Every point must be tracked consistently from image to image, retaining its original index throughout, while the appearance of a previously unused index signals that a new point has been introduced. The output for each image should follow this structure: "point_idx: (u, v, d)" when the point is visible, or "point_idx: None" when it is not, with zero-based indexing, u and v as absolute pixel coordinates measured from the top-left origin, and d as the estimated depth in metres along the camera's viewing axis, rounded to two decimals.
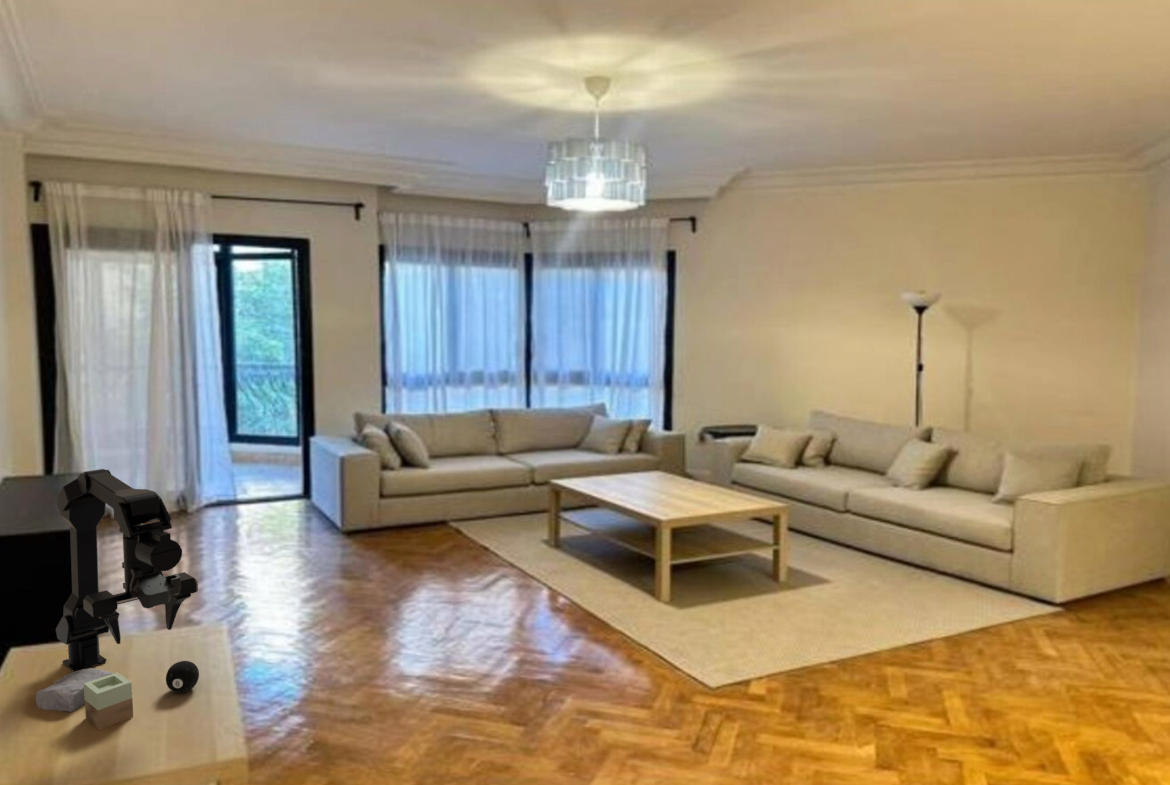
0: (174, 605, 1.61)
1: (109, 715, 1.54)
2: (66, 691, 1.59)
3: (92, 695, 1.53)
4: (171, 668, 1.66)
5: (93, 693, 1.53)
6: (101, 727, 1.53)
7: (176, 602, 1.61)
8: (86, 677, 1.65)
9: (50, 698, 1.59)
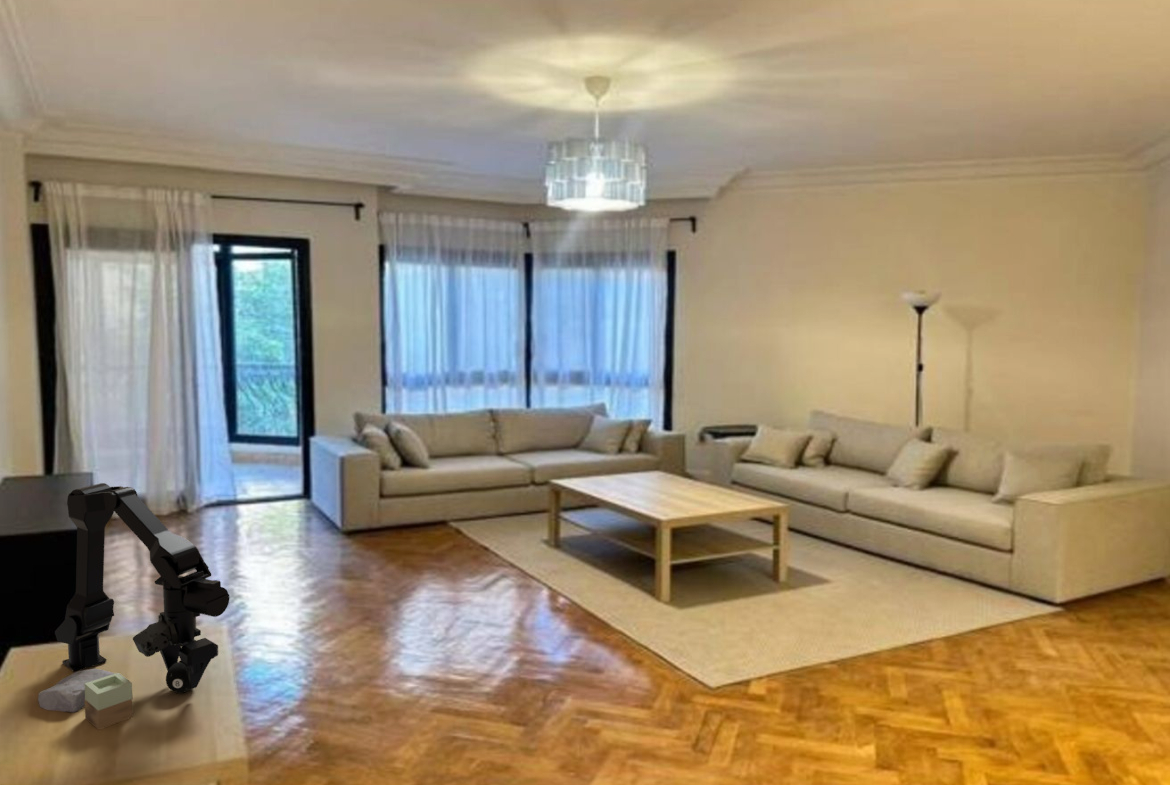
0: None
1: (109, 715, 1.54)
2: (69, 691, 1.59)
3: (93, 696, 1.53)
4: (171, 668, 1.66)
5: (94, 693, 1.52)
6: (101, 727, 1.53)
7: None
8: (89, 677, 1.65)
9: (53, 698, 1.59)
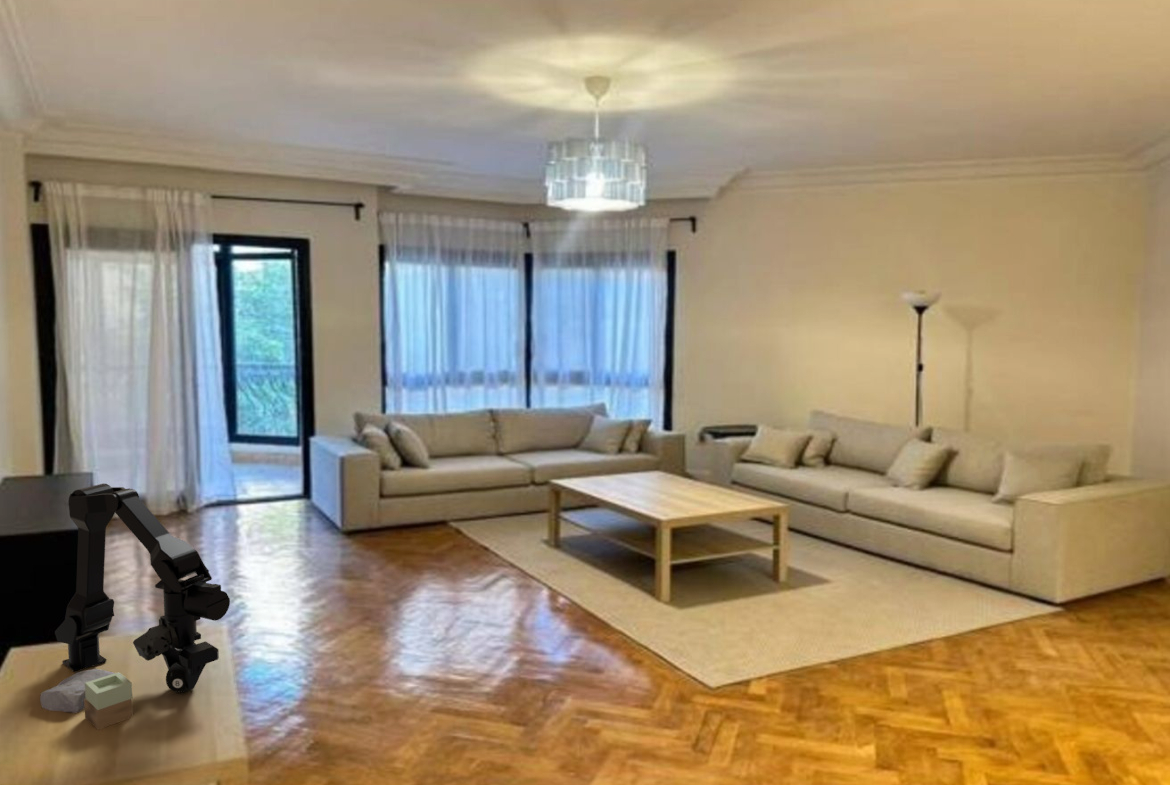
0: (183, 668, 1.63)
1: (108, 715, 1.54)
2: (71, 692, 1.58)
3: (92, 695, 1.53)
4: (171, 668, 1.66)
5: (93, 693, 1.53)
6: (100, 727, 1.53)
7: None
8: (91, 678, 1.65)
9: (55, 699, 1.59)
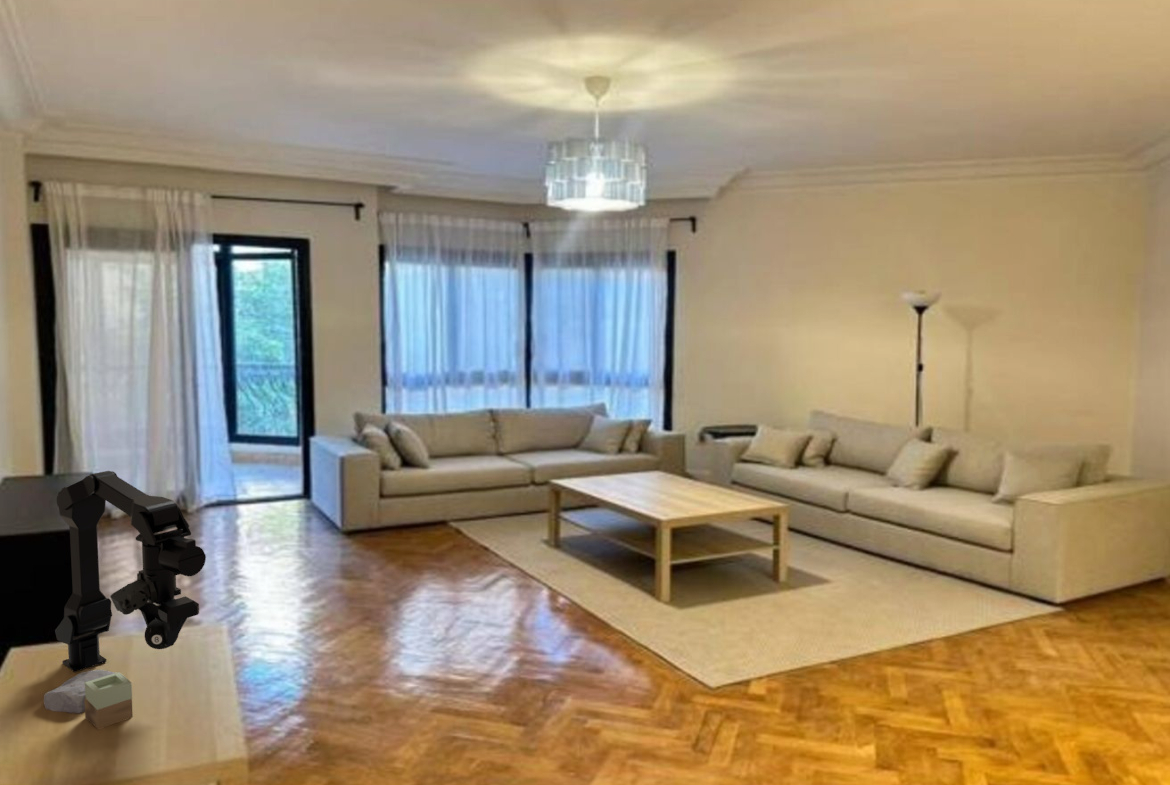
0: (163, 623, 1.59)
1: (108, 715, 1.54)
2: (75, 693, 1.58)
3: (92, 695, 1.53)
4: (150, 624, 1.61)
5: (93, 692, 1.53)
6: (100, 727, 1.53)
7: None
8: (94, 678, 1.65)
9: (58, 699, 1.59)
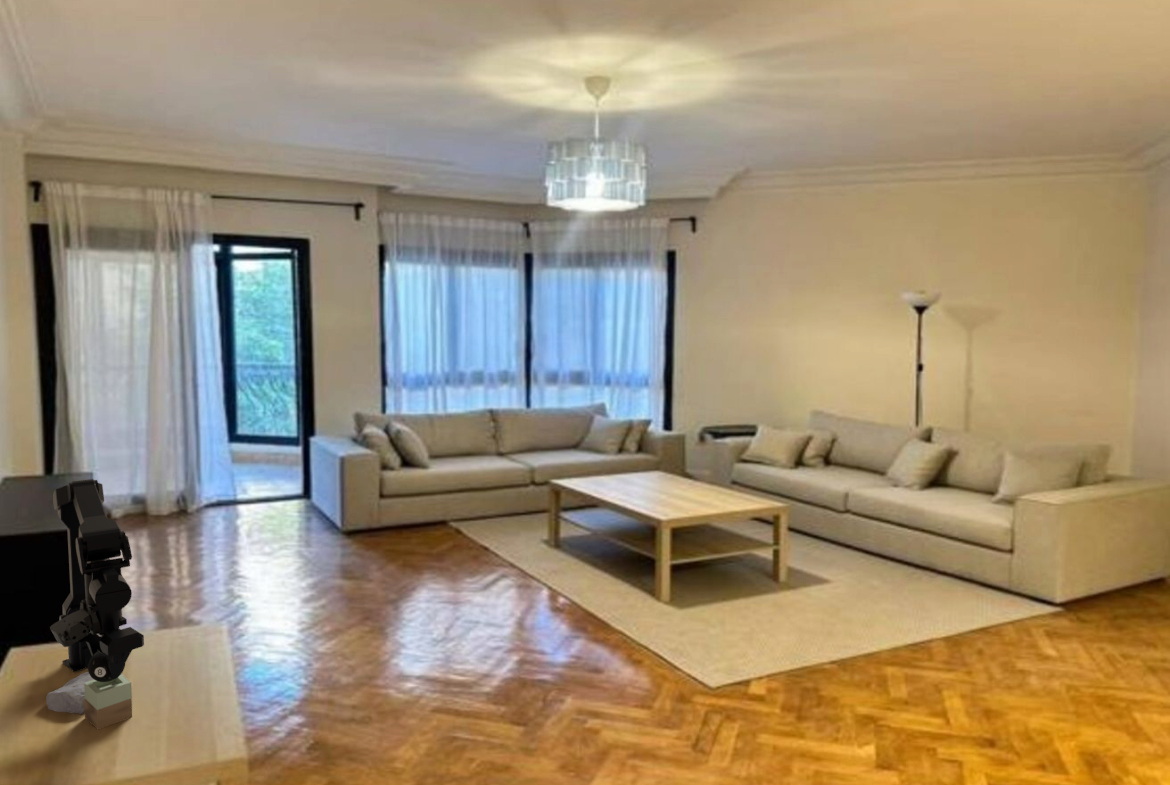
0: (106, 656, 1.51)
1: (108, 715, 1.54)
2: (77, 693, 1.58)
3: (92, 695, 1.53)
4: (94, 655, 1.54)
5: (93, 692, 1.53)
6: (100, 727, 1.53)
7: None
8: None
9: (61, 700, 1.59)
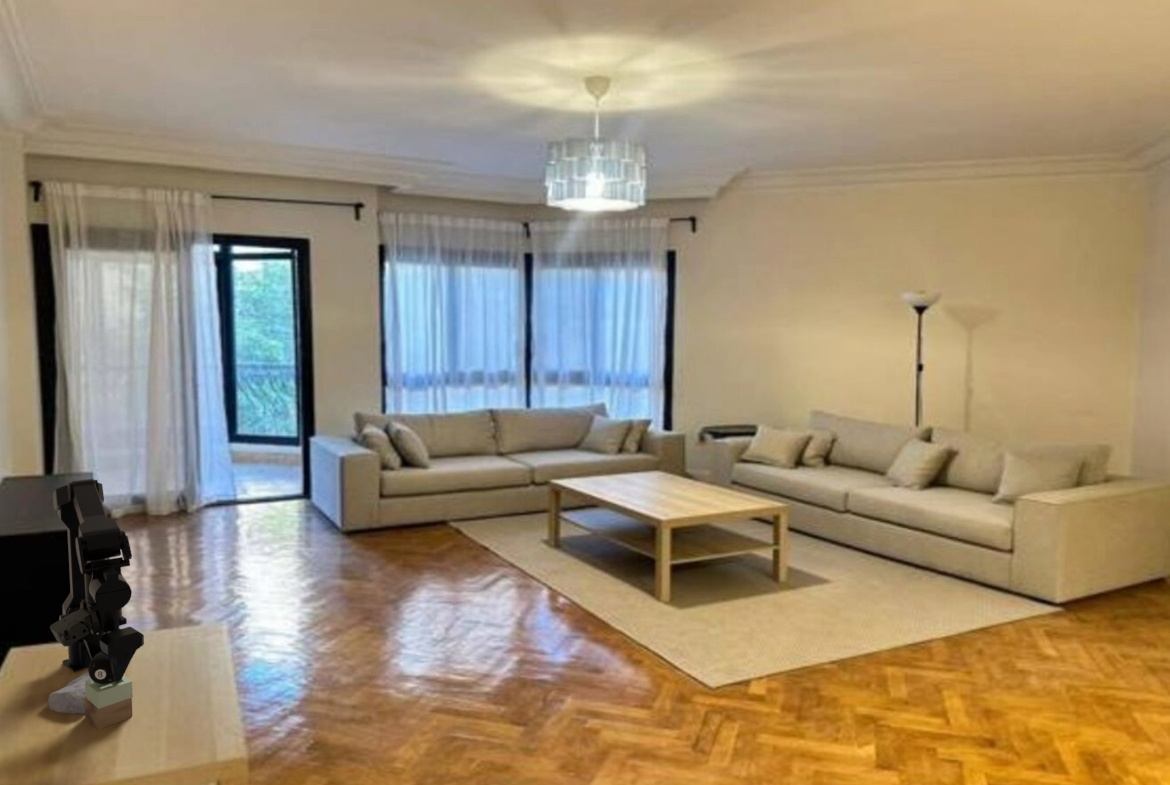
0: (109, 657, 1.50)
1: (108, 714, 1.54)
2: (80, 693, 1.58)
3: (93, 694, 1.54)
4: (94, 658, 1.54)
5: (94, 691, 1.53)
6: (100, 726, 1.53)
7: None
8: None
9: (63, 700, 1.58)
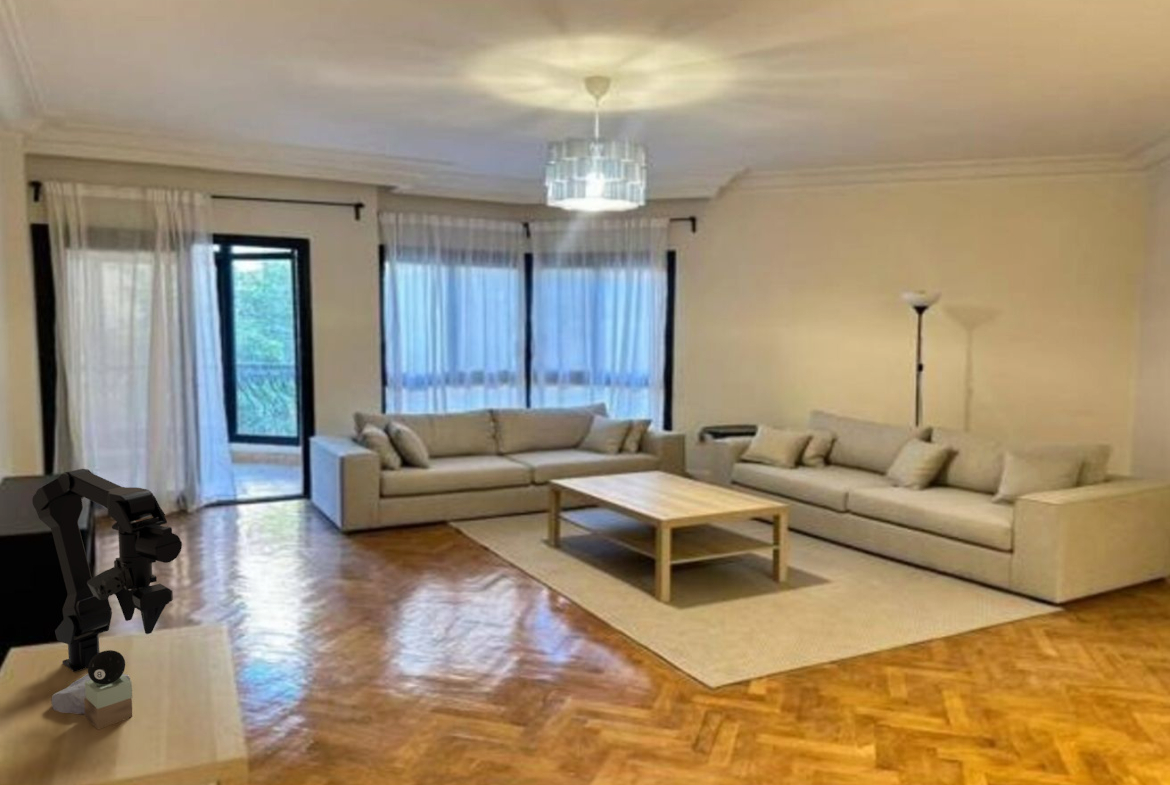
0: (141, 611, 1.63)
1: (108, 714, 1.54)
2: (83, 694, 1.58)
3: (92, 694, 1.54)
4: (94, 658, 1.54)
5: (93, 692, 1.53)
6: (100, 726, 1.53)
7: None
8: None
9: (67, 701, 1.58)
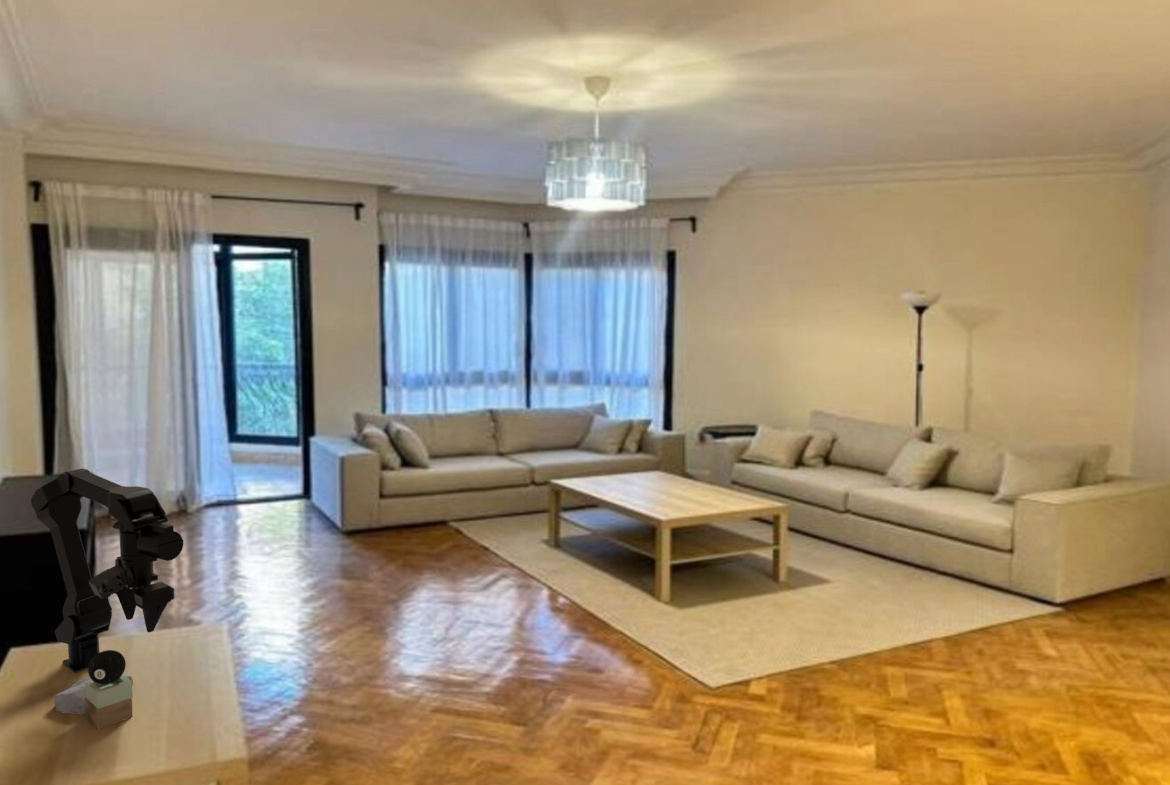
0: None
1: (108, 714, 1.54)
2: None
3: (93, 694, 1.54)
4: (94, 658, 1.54)
5: (94, 691, 1.53)
6: (100, 726, 1.53)
7: None
8: None
9: (69, 701, 1.58)
